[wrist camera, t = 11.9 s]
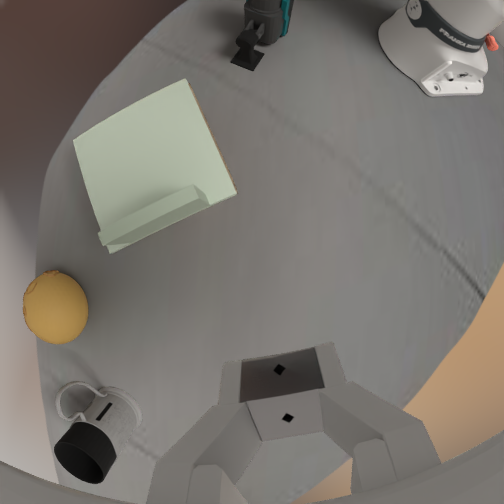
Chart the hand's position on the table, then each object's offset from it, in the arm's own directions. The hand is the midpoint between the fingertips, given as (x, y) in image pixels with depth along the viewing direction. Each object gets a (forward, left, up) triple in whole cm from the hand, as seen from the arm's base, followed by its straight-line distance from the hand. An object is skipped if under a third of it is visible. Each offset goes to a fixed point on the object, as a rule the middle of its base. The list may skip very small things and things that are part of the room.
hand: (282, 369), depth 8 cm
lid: (+11, -12, -22) cm, 28 cm away
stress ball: (+28, +3, -31) cm, 42 cm away
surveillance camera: (-3, -32, -31) cm, 44 cm away
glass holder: (+25, +19, -31) cm, 44 cm away
